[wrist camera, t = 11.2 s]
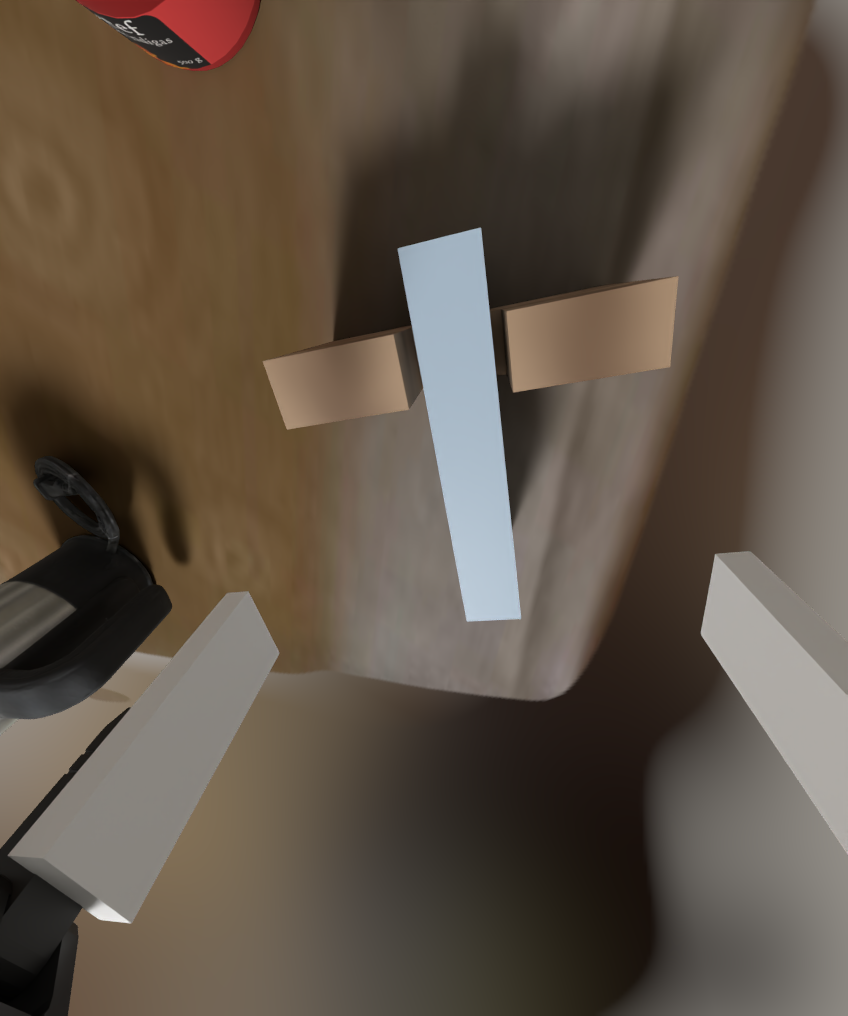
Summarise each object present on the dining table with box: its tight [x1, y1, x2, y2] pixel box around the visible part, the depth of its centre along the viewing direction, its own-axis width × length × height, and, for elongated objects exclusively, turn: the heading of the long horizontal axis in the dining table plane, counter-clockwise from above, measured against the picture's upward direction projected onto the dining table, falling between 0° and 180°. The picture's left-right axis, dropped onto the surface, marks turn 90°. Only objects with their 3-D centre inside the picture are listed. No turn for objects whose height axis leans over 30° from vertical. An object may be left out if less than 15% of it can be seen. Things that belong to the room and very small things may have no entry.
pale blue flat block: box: [398, 228, 521, 621], centre depth 22 cm, size 18×3×9 cm, turn 11°
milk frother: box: [0, 456, 172, 736], centre depth 29 cm, size 14×16×15 cm
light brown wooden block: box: [263, 276, 678, 429], centre depth 20 cm, size 16×3×9 cm, turn 101°
